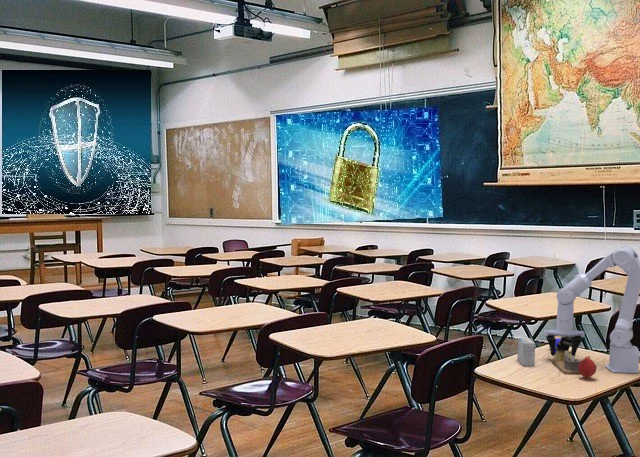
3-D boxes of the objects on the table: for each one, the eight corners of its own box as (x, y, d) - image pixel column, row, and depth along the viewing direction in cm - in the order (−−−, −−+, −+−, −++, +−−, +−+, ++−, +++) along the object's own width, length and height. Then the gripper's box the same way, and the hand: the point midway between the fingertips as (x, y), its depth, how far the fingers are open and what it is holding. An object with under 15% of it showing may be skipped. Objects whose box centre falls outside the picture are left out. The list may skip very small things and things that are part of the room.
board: (579, 363, 273) (580, 349, 273) (592, 374, 259) (593, 359, 259) (552, 363, 273) (552, 348, 273) (564, 374, 259) (565, 358, 259)
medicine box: (534, 366, 268) (535, 343, 267) (522, 366, 268) (523, 342, 267) (528, 360, 276) (530, 337, 275) (516, 360, 276) (518, 337, 275)
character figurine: (555, 359, 280) (547, 349, 295) (575, 358, 279) (566, 349, 294) (554, 339, 279) (547, 330, 294) (574, 338, 278) (566, 329, 293)
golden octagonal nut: (569, 359, 278) (569, 350, 278) (571, 363, 273) (571, 354, 273) (554, 358, 279) (555, 349, 279) (556, 362, 274) (557, 353, 274)
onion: (586, 381, 251) (588, 358, 250) (573, 377, 256) (575, 354, 255) (599, 379, 253) (600, 357, 253) (586, 375, 258) (587, 352, 258)
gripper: (580, 317, 279) (578, 353, 280) (542, 316, 279) (540, 352, 280) (587, 321, 272) (585, 358, 273) (547, 320, 272) (545, 357, 273)
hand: (562, 355), depth 276 cm, fingers open, 7 cm apart
